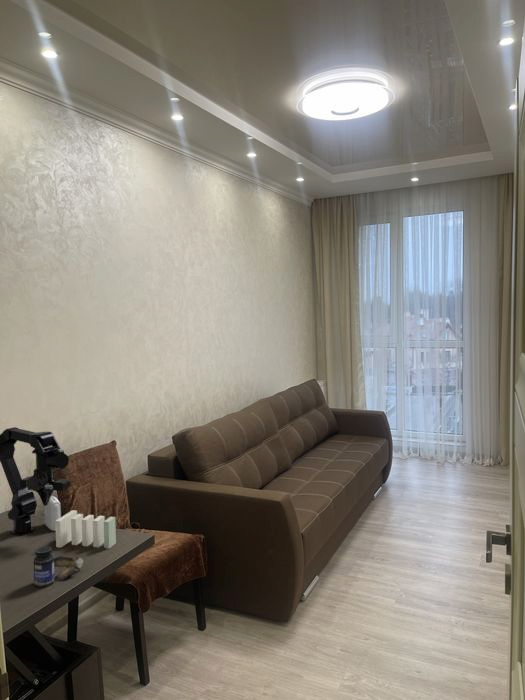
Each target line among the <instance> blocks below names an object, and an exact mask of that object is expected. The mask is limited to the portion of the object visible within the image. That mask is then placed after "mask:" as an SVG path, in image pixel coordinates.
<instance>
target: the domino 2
mask: <svg viewBox="0 0 525 700" xmlns="http://www.w3.org/2000/svg"><path fill="white" fill-rule="evenodd" d="M83 518H84V513H77V515H76V516H74V517H73V518H71V539H72V540H71V545H72V546H77V545H79V544H81V542H82V519H83Z"/></svg>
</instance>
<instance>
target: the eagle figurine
mask: <svg viewBox="0 0 525 700" xmlns="http://www.w3.org/2000/svg"><path fill="white" fill-rule="evenodd" d="M74 558H75V559H74ZM74 558H73V557H72V556H70V557H69V556H68V557H67V556H62V555H60V556H56V557H54V568H65V569H64V570H63V571H62V572H60V573H59V574H57V575H56V576H55V575H54V579H55V580H54V582H55V581H56V582H60V581H61V582H62V581H63V580H65V579H67V578H68V577H69V576H71V575H73V574H75V572H76V569H77V571H79V572H81V567H82V566H83V565H84V560H83V558H81V557H79V556H77V554H76V553H75V554H74Z"/></svg>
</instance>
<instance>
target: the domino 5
mask: <svg viewBox="0 0 525 700" xmlns="http://www.w3.org/2000/svg"><path fill="white" fill-rule="evenodd" d="M116 524H117V523H116V517H115V516H109V517H108V518H106V519H105V521H104V543H103V547H104V549H110V548H112V547H113V546H114V545H115V544H116V543H117V534H116V533H117V531H116V529H117V528H116Z"/></svg>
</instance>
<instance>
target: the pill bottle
mask: <svg viewBox="0 0 525 700" xmlns="http://www.w3.org/2000/svg"><path fill="white" fill-rule="evenodd" d="M52 551H53V550H52V547H50V546H41V547H39V548H36V550H35V557H34V558H33V584H34V586H35V587H36V588H46V587H49V586H51V585H53V584H54V582H55V581H54V580H55V579H54V578H55V567H54V558H55V556H54V555H53V554H52Z"/></svg>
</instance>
